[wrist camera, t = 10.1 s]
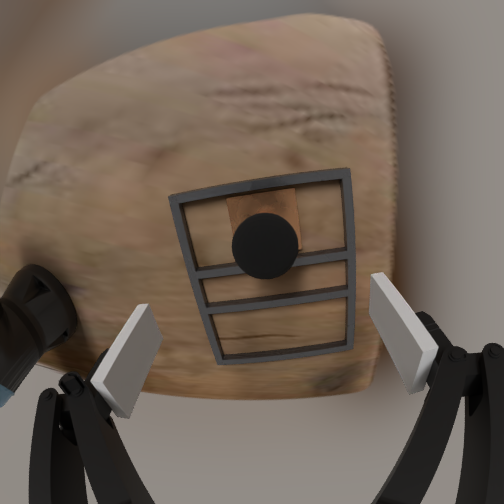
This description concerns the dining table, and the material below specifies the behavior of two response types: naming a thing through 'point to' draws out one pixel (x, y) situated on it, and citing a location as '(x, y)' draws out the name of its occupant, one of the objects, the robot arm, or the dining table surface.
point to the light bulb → (265, 245)
